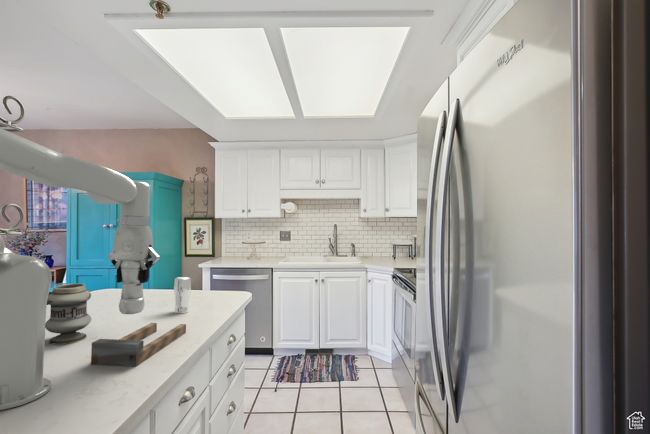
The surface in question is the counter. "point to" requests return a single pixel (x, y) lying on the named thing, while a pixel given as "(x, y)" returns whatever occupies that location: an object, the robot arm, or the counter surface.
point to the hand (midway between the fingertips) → (132, 281)
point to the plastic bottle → (131, 288)
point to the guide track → (132, 346)
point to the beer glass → (182, 294)
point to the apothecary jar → (68, 313)
